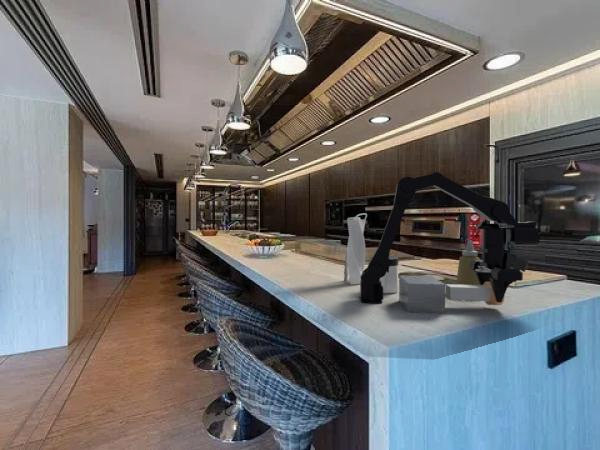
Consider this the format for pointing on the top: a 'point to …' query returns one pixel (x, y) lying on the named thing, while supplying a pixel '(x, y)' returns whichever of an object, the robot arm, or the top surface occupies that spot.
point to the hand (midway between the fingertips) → (492, 298)
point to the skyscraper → (355, 251)
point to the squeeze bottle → (467, 267)
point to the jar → (391, 278)
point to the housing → (422, 294)
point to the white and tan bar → (472, 293)
